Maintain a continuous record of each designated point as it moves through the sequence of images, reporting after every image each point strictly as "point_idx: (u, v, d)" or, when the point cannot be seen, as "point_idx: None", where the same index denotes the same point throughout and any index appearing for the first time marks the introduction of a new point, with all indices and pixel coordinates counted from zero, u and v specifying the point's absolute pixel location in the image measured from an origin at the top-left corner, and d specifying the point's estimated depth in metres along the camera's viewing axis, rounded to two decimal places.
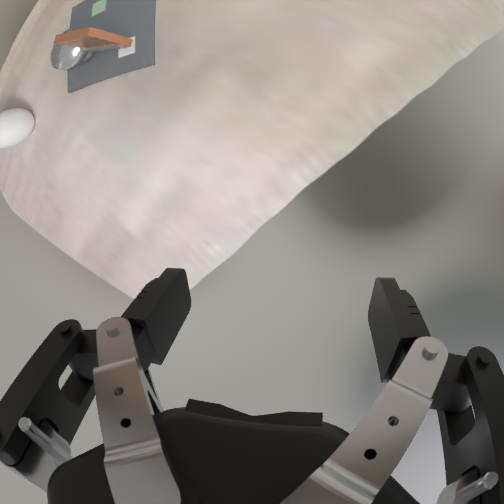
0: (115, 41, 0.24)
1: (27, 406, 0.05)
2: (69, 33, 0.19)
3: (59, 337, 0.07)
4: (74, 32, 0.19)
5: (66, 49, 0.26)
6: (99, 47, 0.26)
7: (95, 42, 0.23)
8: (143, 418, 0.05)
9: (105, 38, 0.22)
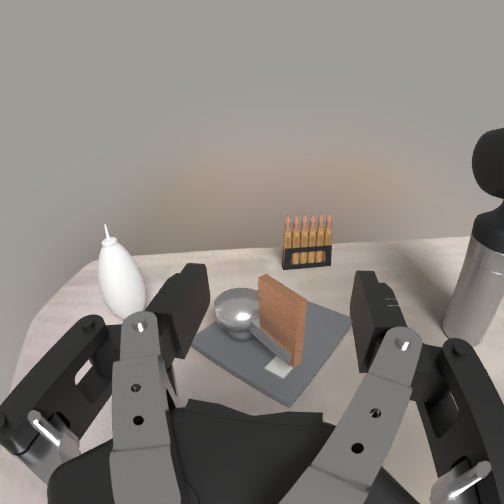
0: (296, 345, 0.29)
1: (39, 399, 0.05)
2: (281, 285, 0.30)
3: (80, 332, 0.07)
4: (287, 290, 0.29)
5: (240, 304, 0.38)
6: (269, 337, 0.33)
7: (281, 325, 0.30)
8: (157, 418, 0.05)
9: (297, 330, 0.28)
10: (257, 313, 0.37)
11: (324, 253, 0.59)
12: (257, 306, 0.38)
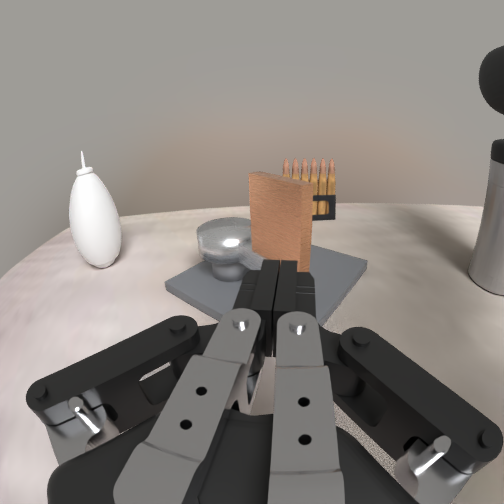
0: (301, 257, 0.22)
1: (88, 389, 0.06)
2: (278, 176, 0.22)
3: (166, 333, 0.08)
4: (286, 178, 0.22)
5: (229, 229, 0.31)
6: (265, 258, 0.26)
7: (280, 231, 0.23)
8: (205, 430, 0.04)
9: (302, 230, 0.21)
10: (249, 236, 0.29)
11: (327, 204, 0.52)
12: (249, 230, 0.30)
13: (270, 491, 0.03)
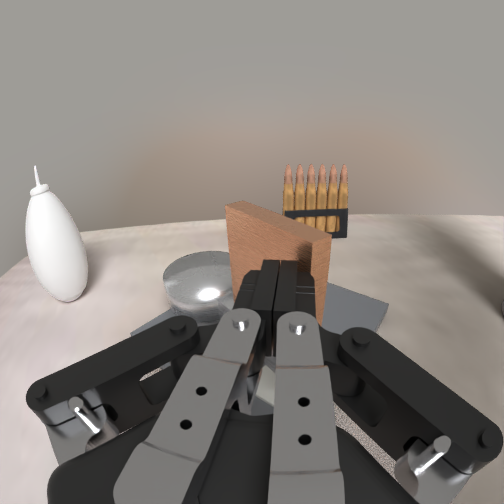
0: None
1: (88, 389, 0.06)
2: (271, 214, 0.14)
3: (166, 333, 0.08)
4: (284, 219, 0.13)
5: (206, 273, 0.22)
6: None
7: None
8: (205, 430, 0.04)
9: None
10: (232, 287, 0.21)
11: (338, 220, 0.43)
12: None
13: (270, 491, 0.03)
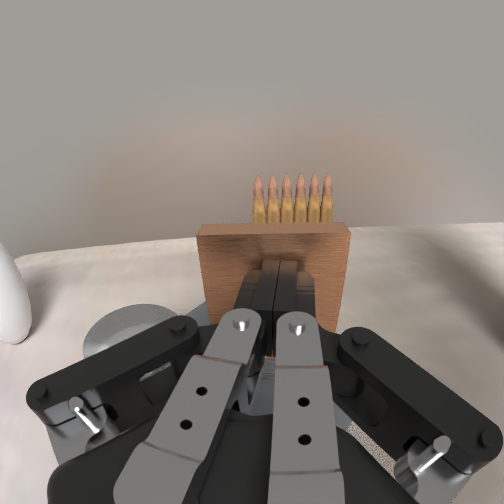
0: None
1: (89, 389, 0.06)
2: (265, 225, 0.12)
3: (166, 333, 0.08)
4: (287, 225, 0.12)
5: None
6: None
7: None
8: (205, 430, 0.04)
9: None
10: None
11: None
12: None
13: (270, 491, 0.03)
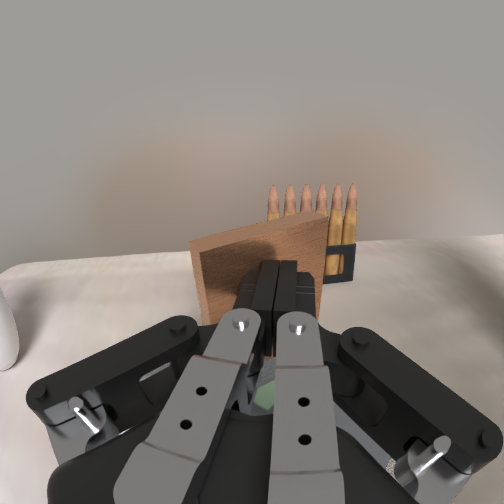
0: None
1: (88, 389, 0.06)
2: (254, 226, 0.12)
3: (166, 333, 0.08)
4: (273, 222, 0.13)
5: None
6: None
7: None
8: (205, 430, 0.04)
9: None
10: None
11: (342, 259, 0.32)
12: None
13: (270, 491, 0.03)
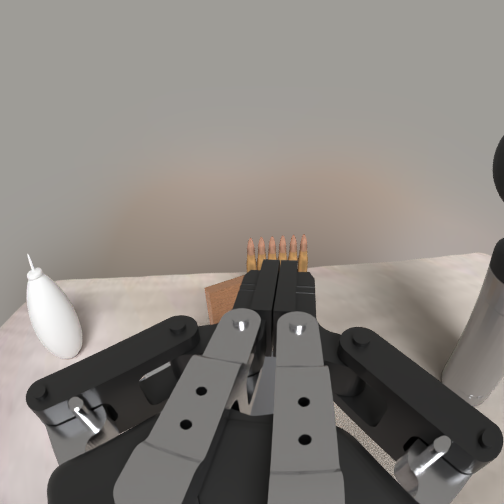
0: None
1: (88, 389, 0.06)
2: (231, 280, 0.29)
3: (166, 333, 0.08)
4: (239, 278, 0.29)
5: None
6: None
7: None
8: (205, 430, 0.04)
9: None
10: None
11: None
12: None
13: (270, 491, 0.03)
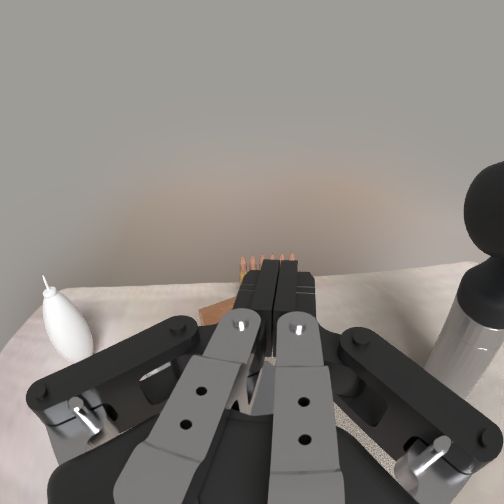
0: None
1: (88, 389, 0.06)
2: (221, 303, 0.34)
3: (166, 333, 0.08)
4: (228, 301, 0.34)
5: None
6: None
7: None
8: (204, 430, 0.04)
9: None
10: None
11: None
12: None
13: (270, 491, 0.03)
